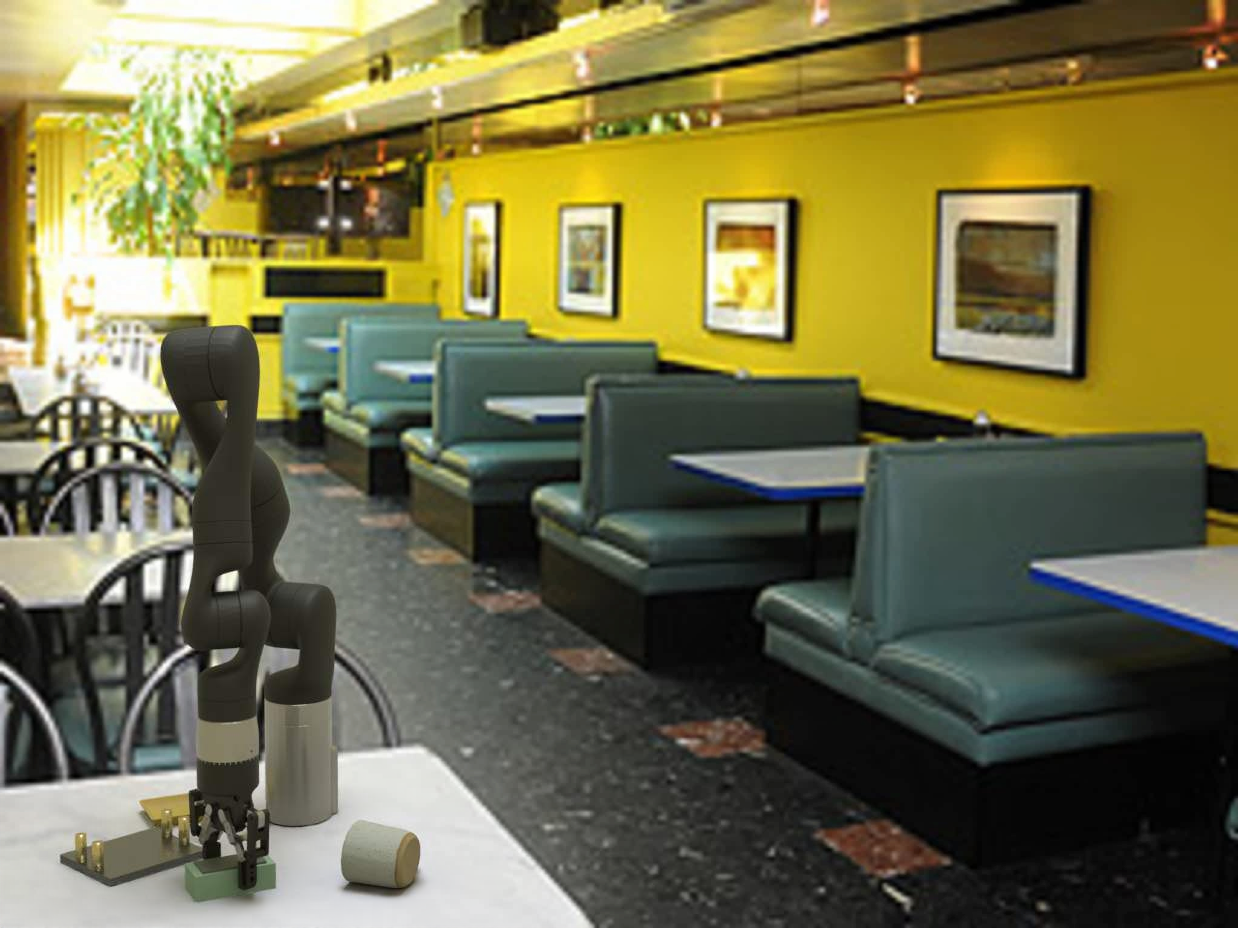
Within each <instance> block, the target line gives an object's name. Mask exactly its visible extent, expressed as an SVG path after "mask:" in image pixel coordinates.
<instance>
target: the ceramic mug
mask: <svg viewBox="0 0 1238 928" xmlns="http://www.w3.org/2000/svg"><path fill="white" fill-rule="evenodd" d="M346 832H347V833H346V835H345V838H344V840H343V844H342V848H341V854H340V868H341V869H340V870H341V874H342V877H343V878H344V880H345V881H347V882H350V883H355V884H356V883H358V884H363V885H368V886H369V885H370V886H377V887H384V888H390V889H401V888H406V887H407V886H408V885H410V884H411V882H412V881H413V880H414V878H415V877H416V874H417V871H418V870H419V864H420V861H421V843H420V840H419V838H418V836H417V835H416V834H415V833H414V832H412V831H409V830H407V829H403V828H400V827H396V826H395V827H394V826H391V825H387V824H381V823H377V822H373V821H368V820H364V819H359V820H356V821H355V822H353V824H351V826H350V828H349V829H348V831H346Z"/></svg>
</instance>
